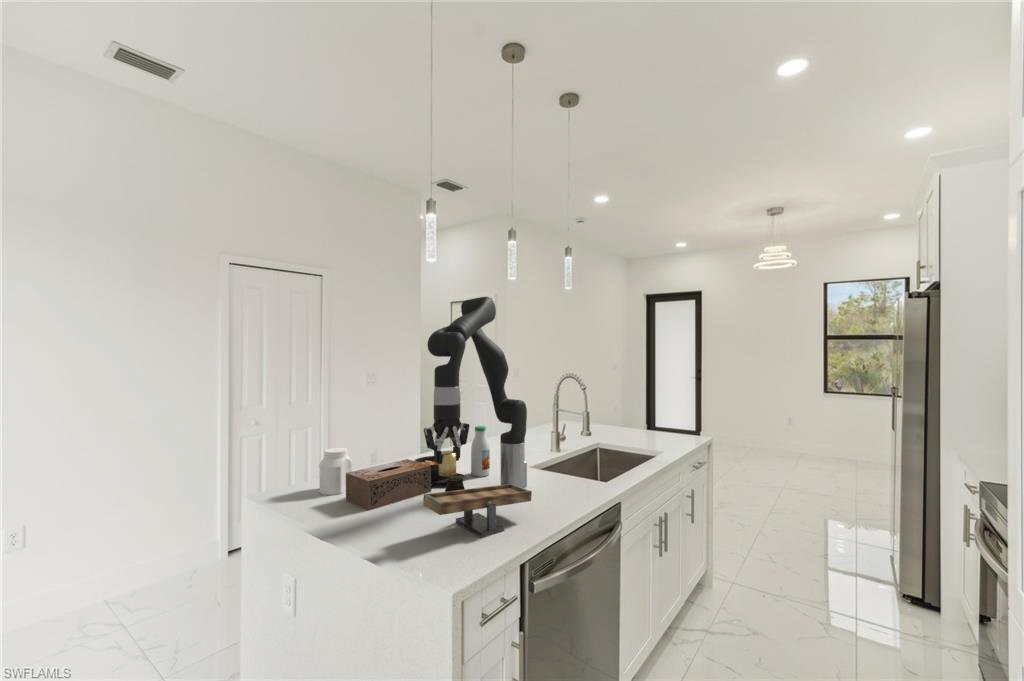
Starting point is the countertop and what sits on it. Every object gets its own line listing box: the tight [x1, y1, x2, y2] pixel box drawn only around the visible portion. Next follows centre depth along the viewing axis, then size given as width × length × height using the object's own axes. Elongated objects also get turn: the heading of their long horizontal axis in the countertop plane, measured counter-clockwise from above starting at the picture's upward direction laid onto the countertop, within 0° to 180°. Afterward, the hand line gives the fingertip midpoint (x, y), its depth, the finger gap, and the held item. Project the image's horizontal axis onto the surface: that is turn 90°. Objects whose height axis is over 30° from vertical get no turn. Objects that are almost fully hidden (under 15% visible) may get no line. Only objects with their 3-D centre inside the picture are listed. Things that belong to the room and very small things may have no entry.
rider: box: [438, 450, 457, 476], centre depth 132 cm, size 5×5×6 cm
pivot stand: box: [455, 504, 505, 538], centre depth 138 cm, size 8×14×8 cm, turn 38°
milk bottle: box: [470, 425, 491, 478], centre depth 194 cm, size 8×8×20 cm
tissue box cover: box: [345, 458, 432, 512], centre depth 166 cm, size 26×14×10 cm, turn 139°
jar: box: [318, 447, 353, 496], centre depth 173 cm, size 12×10×15 cm
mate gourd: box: [444, 476, 466, 492], centre depth 161 cm, size 7×8×10 cm
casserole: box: [413, 455, 465, 486], centre depth 185 cm, size 25×19×8 cm
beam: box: [422, 484, 533, 516], centre depth 138 cm, size 32×10×3 cm, turn 128°
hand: (447, 461), depth 132 cm, fingers closed on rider, 5 cm apart
